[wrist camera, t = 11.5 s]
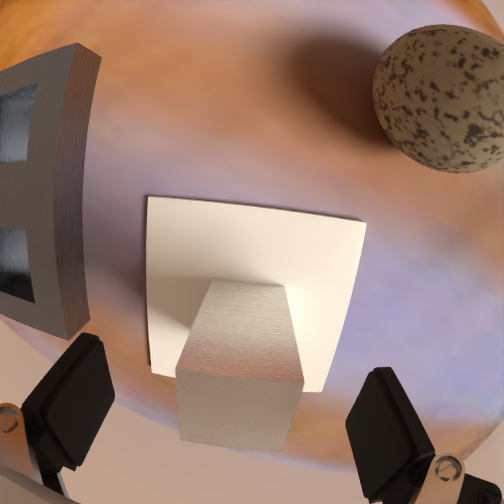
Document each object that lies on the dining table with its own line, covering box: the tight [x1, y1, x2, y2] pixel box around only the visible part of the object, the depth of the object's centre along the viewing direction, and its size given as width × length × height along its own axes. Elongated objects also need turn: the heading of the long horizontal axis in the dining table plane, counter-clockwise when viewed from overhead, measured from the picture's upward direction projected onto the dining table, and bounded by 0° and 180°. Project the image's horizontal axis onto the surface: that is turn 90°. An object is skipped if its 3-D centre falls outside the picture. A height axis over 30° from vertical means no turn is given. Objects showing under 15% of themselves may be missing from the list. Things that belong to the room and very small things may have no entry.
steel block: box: [175, 278, 305, 451], centre depth 12 cm, size 4×4×8 cm
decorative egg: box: [373, 24, 504, 173], centre depth 9 cm, size 7×7×10 cm
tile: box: [146, 196, 367, 392], centre depth 16 cm, size 12×12×1 cm
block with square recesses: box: [0, 43, 102, 341], centre depth 14 cm, size 18×10×3 cm, turn 173°
